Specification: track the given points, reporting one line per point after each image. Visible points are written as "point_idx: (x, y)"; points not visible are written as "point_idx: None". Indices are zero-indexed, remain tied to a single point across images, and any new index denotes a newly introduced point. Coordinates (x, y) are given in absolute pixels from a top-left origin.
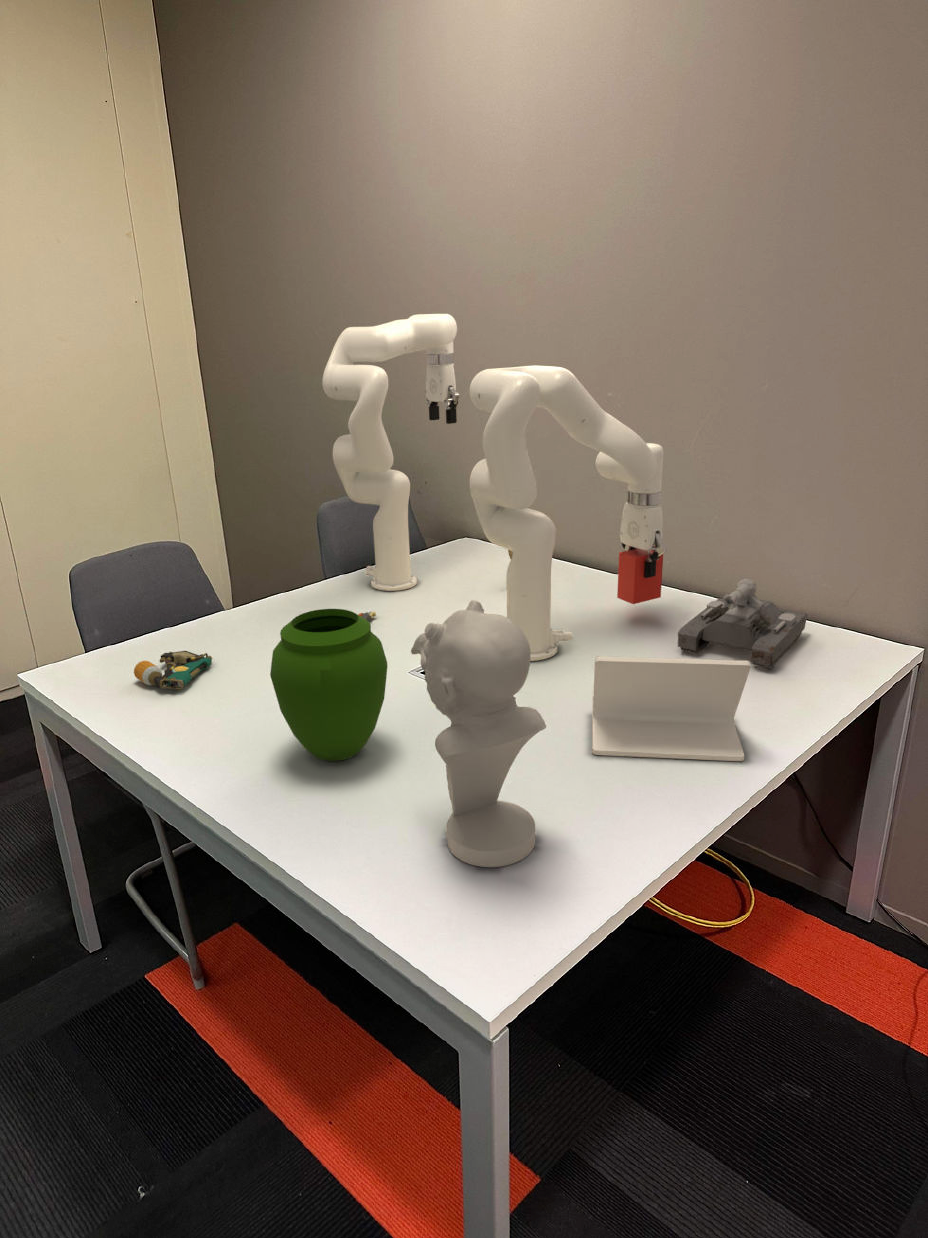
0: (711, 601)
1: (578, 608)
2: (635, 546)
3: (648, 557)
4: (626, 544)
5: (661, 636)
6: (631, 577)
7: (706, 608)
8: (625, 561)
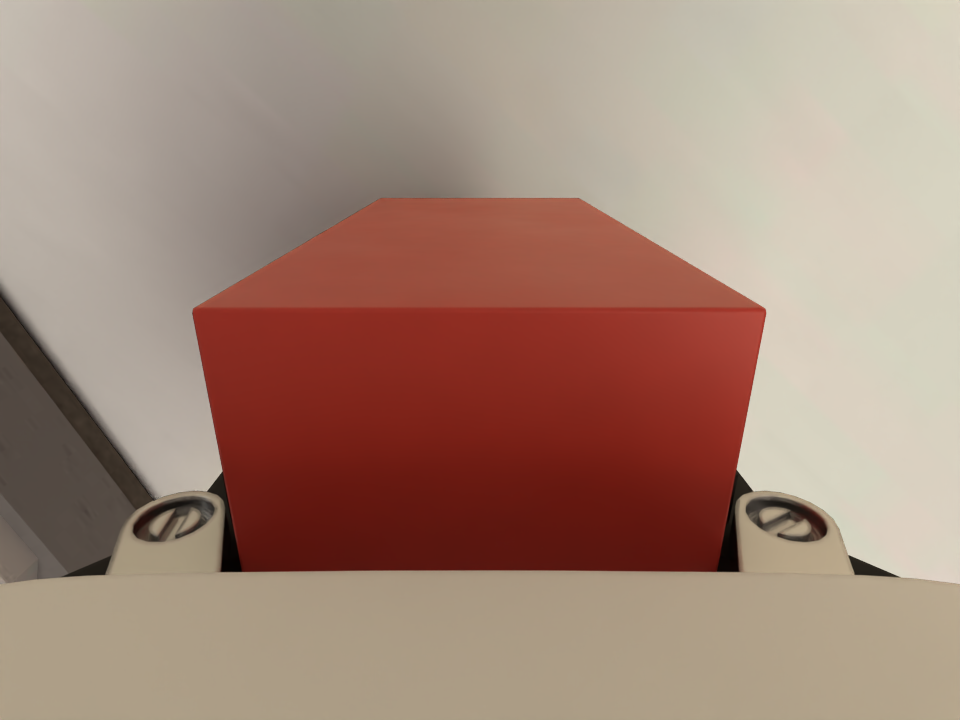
0: (2, 581)
1: (858, 79)
2: (348, 582)
3: (153, 545)
4: (771, 576)
5: (142, 191)
6: (377, 230)
7: (15, 515)
8: (516, 269)
